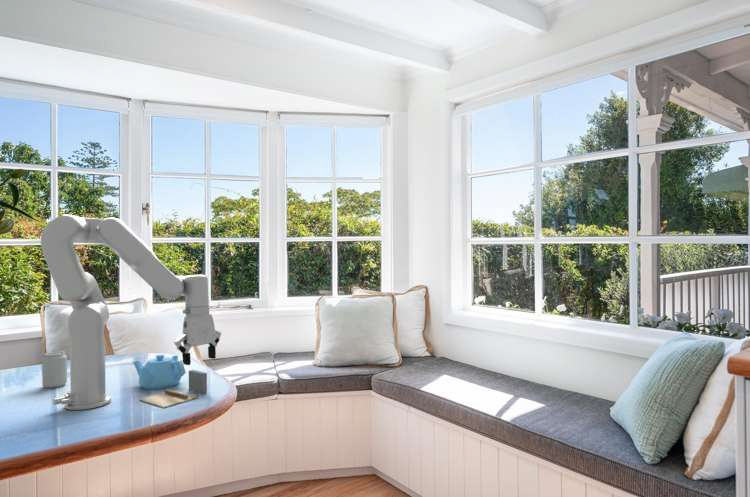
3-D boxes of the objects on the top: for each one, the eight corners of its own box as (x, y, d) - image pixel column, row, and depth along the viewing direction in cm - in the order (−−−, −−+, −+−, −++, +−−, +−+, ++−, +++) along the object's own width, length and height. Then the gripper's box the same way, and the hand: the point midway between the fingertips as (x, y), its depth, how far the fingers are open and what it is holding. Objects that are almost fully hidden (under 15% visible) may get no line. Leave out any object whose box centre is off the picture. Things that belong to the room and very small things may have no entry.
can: (37, 387, 172) (37, 353, 172) (59, 382, 179) (59, 349, 179) (49, 389, 169) (49, 355, 169) (71, 384, 175) (71, 351, 175)
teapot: (139, 394, 163) (139, 362, 163) (133, 383, 175) (132, 354, 175) (186, 386, 171) (186, 356, 171) (177, 377, 184) (177, 349, 184)
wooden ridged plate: (163, 408, 147) (163, 403, 147) (139, 400, 155) (139, 395, 155) (197, 398, 157) (197, 393, 157) (173, 391, 165) (173, 386, 165)
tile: (202, 394, 161) (202, 373, 161) (188, 391, 165) (188, 370, 165) (207, 393, 162) (206, 372, 162) (193, 389, 167) (192, 369, 167)
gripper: (180, 315, 155) (183, 368, 155) (225, 308, 169) (227, 357, 169) (167, 314, 159) (170, 365, 159) (212, 307, 173) (214, 354, 173)
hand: (199, 361), depth 164 cm, fingers open, 9 cm apart
